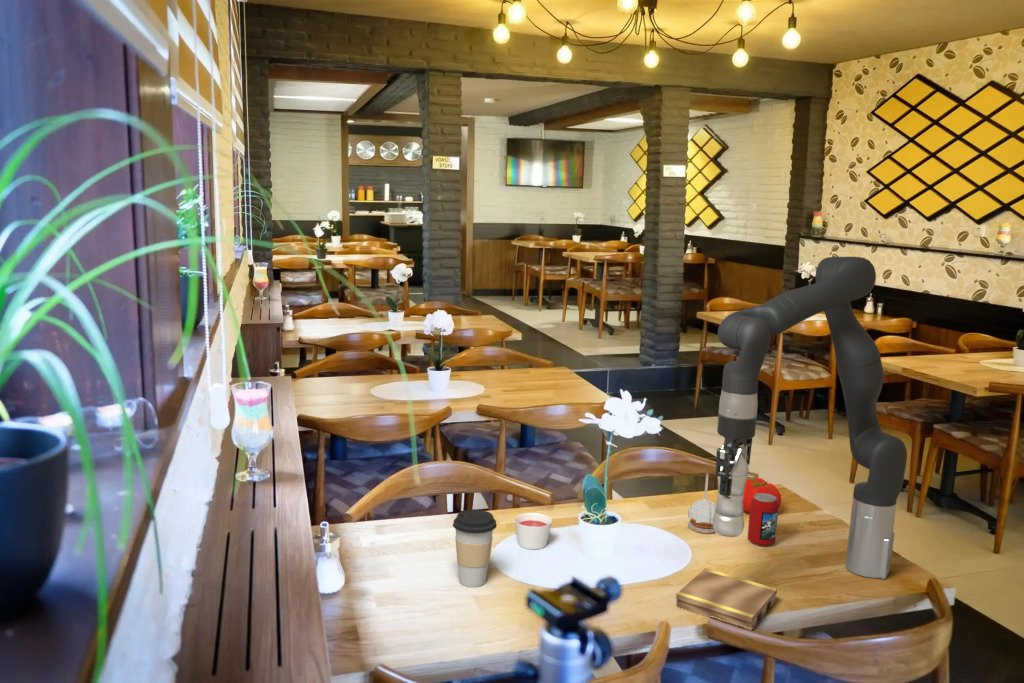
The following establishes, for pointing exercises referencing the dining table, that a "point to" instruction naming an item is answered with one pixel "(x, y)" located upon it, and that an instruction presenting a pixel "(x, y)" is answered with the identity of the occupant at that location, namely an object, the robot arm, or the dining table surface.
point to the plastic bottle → (732, 503)
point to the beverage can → (763, 519)
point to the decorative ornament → (702, 513)
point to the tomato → (758, 491)
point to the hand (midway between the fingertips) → (731, 490)
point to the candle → (532, 530)
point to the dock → (726, 597)
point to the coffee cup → (473, 545)
